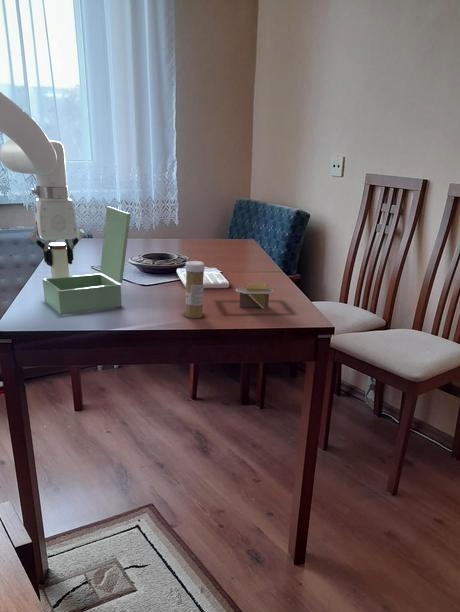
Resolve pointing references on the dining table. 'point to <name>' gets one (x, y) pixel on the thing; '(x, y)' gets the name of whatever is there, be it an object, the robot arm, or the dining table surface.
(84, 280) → the chest
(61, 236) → the robot arm
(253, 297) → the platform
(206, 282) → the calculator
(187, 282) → the sprinkles bottle
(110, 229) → the chest lid
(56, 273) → the jar
